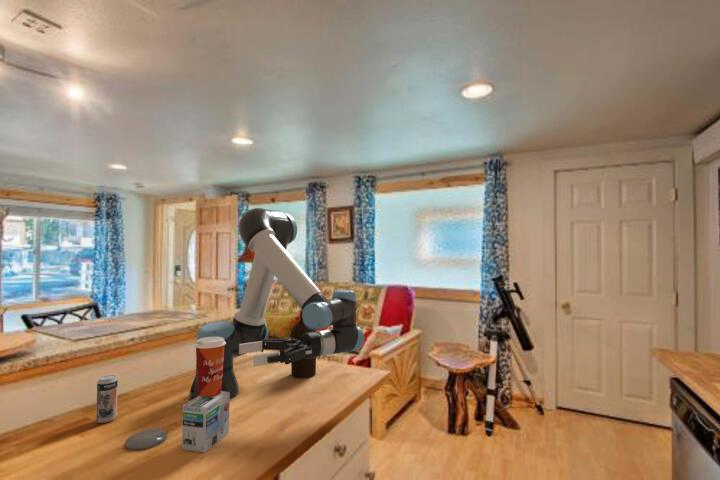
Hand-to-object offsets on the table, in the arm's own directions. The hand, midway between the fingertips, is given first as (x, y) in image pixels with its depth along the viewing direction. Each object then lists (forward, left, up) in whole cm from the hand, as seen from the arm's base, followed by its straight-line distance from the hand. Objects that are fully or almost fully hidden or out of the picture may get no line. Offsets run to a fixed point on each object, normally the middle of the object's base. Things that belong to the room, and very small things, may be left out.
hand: (246, 354), depth 98 cm
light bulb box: (-7, -6, -20) cm, 22 cm away
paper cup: (-8, -3, -9) cm, 13 cm away
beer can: (-41, +1, -20) cm, 46 cm away
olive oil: (+4, +46, -20) cm, 50 cm away
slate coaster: (-22, -8, -20) cm, 31 cm away
